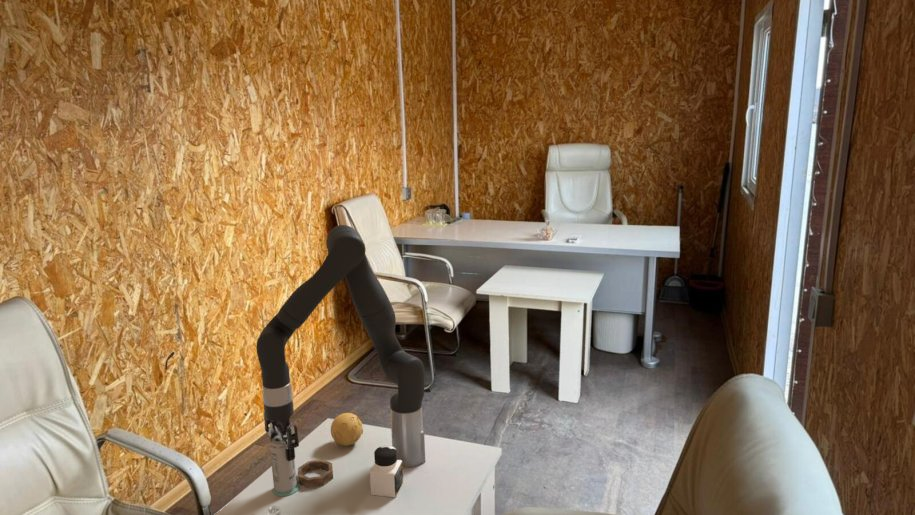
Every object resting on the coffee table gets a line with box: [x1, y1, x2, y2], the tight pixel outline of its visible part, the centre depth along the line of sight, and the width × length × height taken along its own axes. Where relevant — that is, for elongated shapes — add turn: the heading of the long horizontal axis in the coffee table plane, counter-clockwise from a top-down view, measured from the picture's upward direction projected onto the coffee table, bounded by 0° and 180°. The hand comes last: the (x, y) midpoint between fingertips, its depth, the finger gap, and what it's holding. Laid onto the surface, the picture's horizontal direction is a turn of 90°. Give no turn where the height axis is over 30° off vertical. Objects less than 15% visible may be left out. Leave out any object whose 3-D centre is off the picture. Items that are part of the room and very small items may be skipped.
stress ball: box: [330, 412, 364, 447], centre depth 190 cm, size 10×10×10 cm
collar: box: [297, 459, 334, 489], centre depth 174 cm, size 10×10×2 cm
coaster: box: [272, 480, 300, 497], centre depth 169 cm, size 7×7×1 cm
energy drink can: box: [269, 435, 297, 493], centre depth 167 cm, size 6×6×15 cm
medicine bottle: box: [369, 445, 404, 498], centre depth 167 cm, size 7×7×12 cm
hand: (283, 453), depth 167 cm, fingers open, 8 cm apart
